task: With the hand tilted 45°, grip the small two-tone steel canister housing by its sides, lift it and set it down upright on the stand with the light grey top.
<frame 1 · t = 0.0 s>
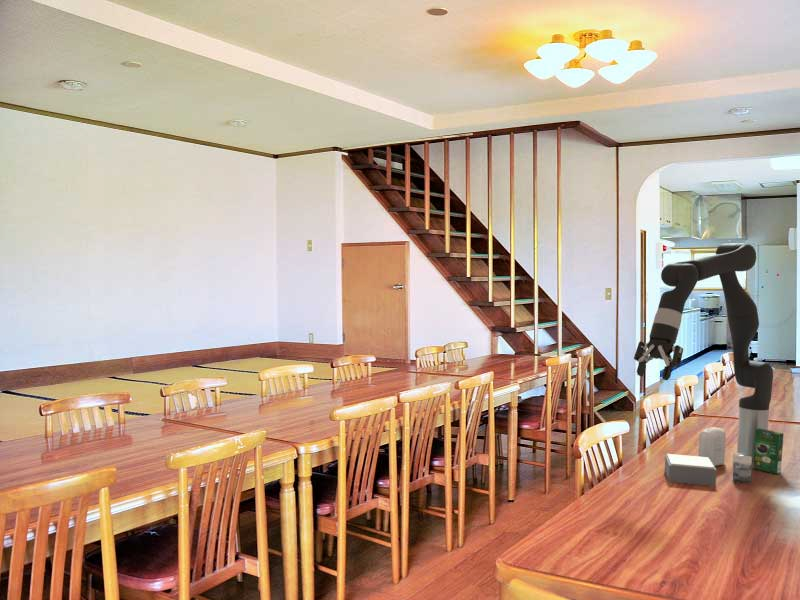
hand: (652, 377, 207), 31 cm above the table, tool tilted 20°, fingers open, 8 cm apart
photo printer: (711, 465, 230), on the table
stand: (689, 478, 214), on the table
coffee box: (767, 471, 224), on the table
housing: (741, 481, 212), on the table
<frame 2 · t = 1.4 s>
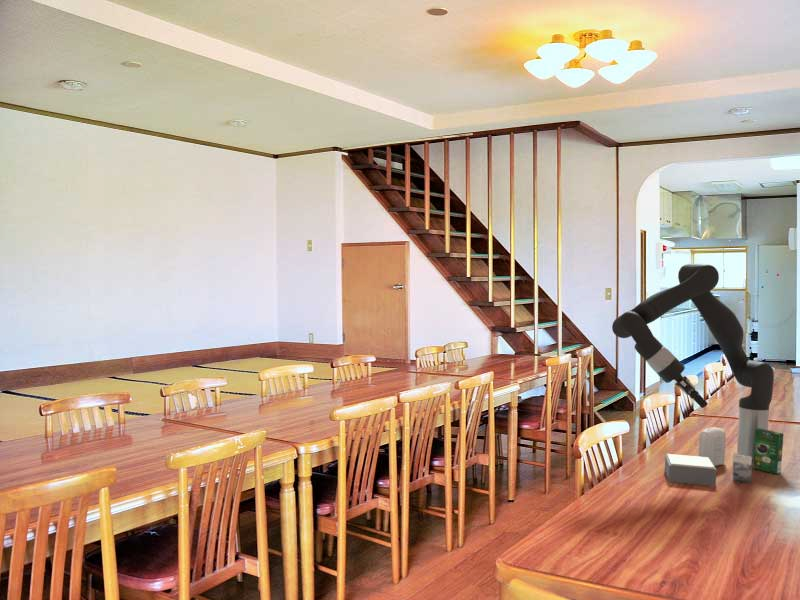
hand: (703, 403, 214), 23 cm above the table, tool tilted 45°, fingers open, 8 cm apart
nothing on the table moved.
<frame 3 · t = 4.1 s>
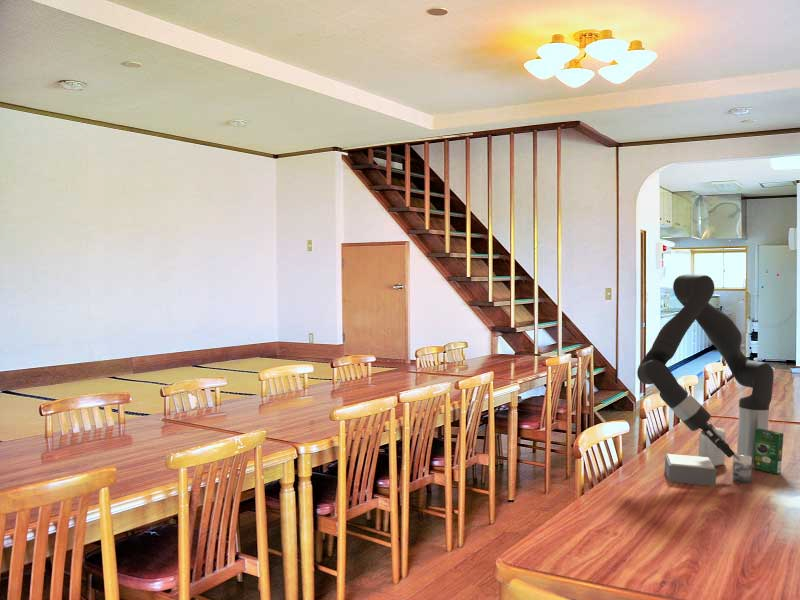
hand: (729, 452, 213), 9 cm above the table, tool tilted 45°, fingers open, 8 cm apart
nothing on the table moved.
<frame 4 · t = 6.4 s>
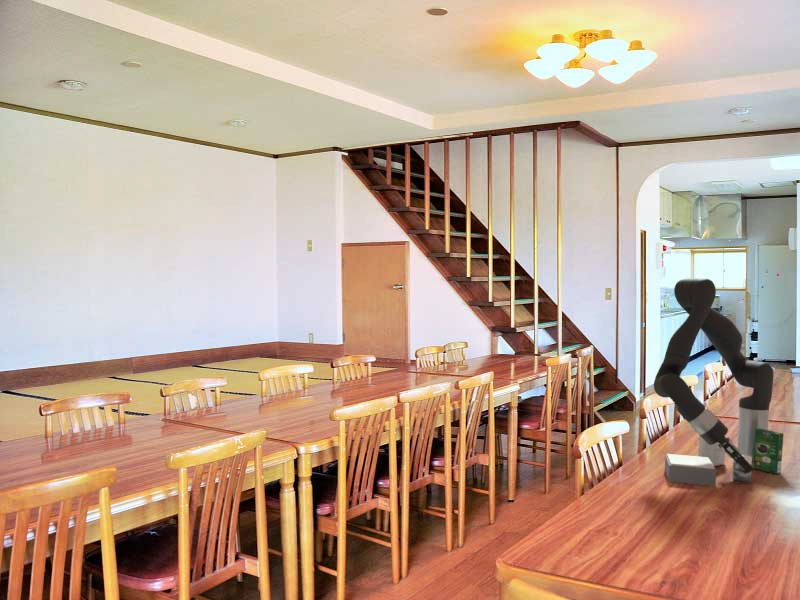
hand: (748, 468, 211), 4 cm above the table, tool tilted 45°, fingers closed on housing, 5 cm apart
housing: (741, 481, 212), on the table, touching gripper
everything else where it was.
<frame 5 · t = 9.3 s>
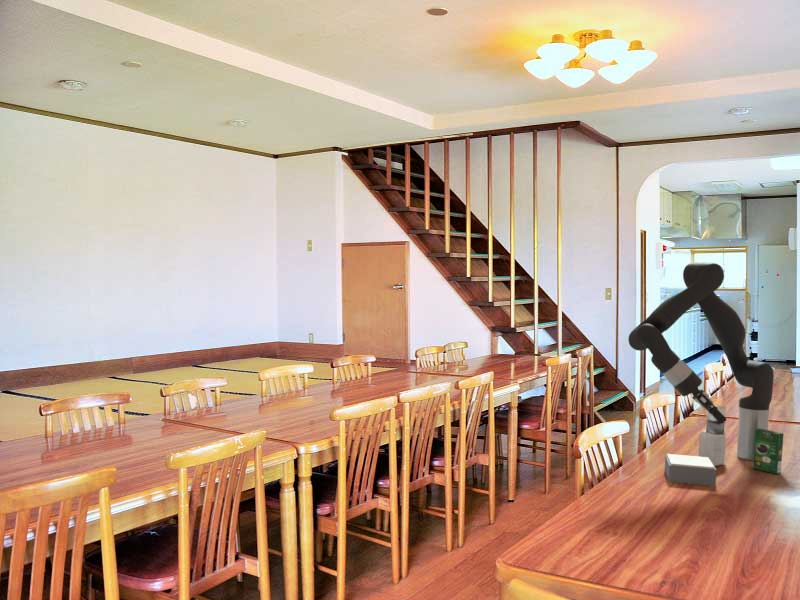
hand: (722, 419, 212), 19 cm above the table, tool tilted 45°, fingers closed on housing, 5 cm apart
housing: (714, 432, 212), point 14 cm above the table, touching gripper
everything else where it was.
when the fingers open (11 cm above the table, at t = 12.0 s): housing drops 1 cm, resting on stand.
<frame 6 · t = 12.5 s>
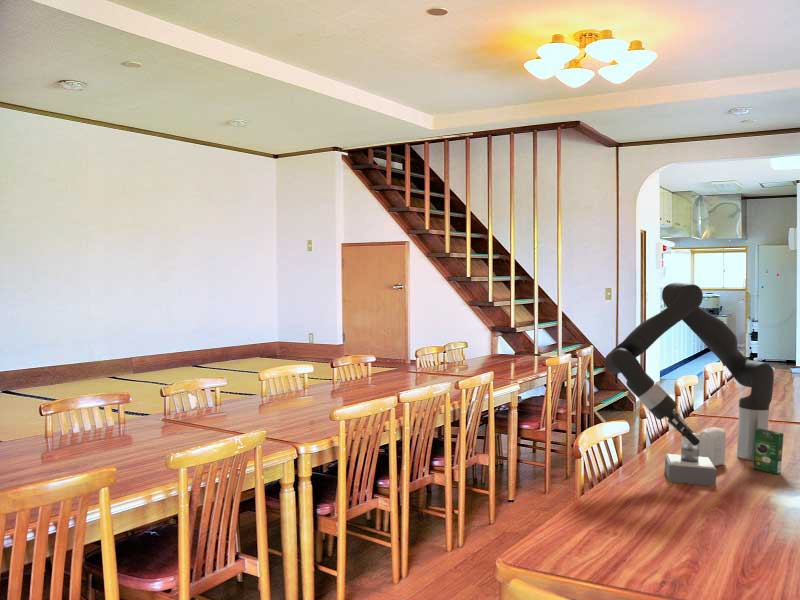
hand: (695, 440, 213), 12 cm above the table, tool tilted 45°, fingers open, 8 cm apart
housing: (689, 460, 214), point 6 cm above the table, touching stand
everything else where it was.
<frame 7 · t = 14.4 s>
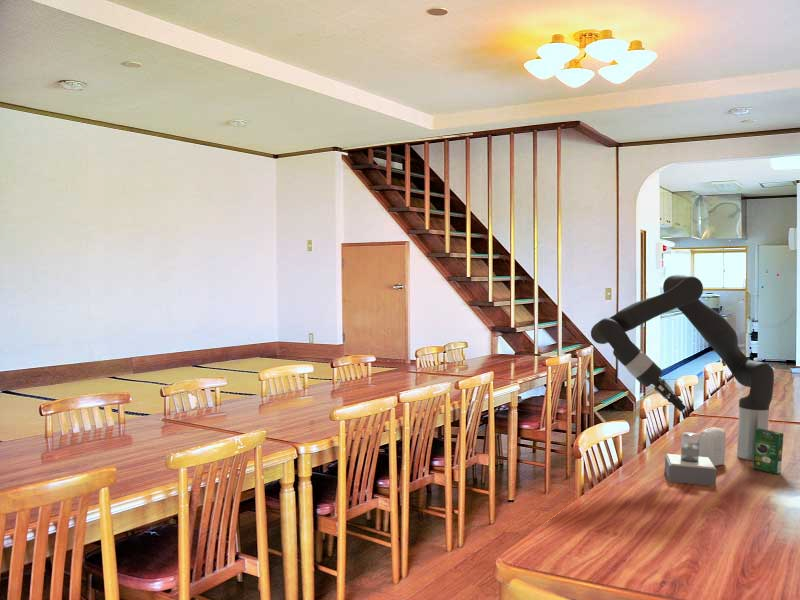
hand: (681, 406, 217), 21 cm above the table, tool tilted 45°, fingers open, 8 cm apart
nothing on the table moved.
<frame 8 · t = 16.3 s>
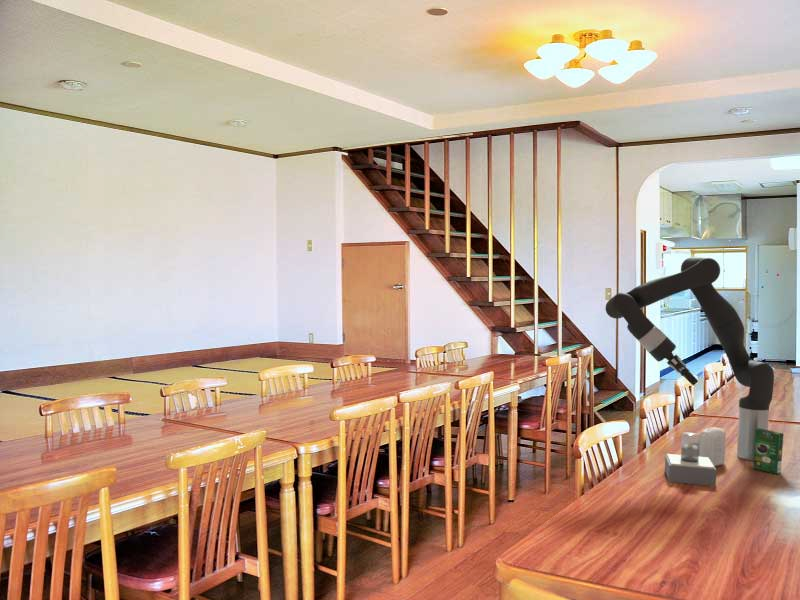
hand: (694, 381, 220), 29 cm above the table, tool tilted 45°, fingers open, 8 cm apart
nothing on the table moved.
at the end: housing inside the target area on the stand (0.1 cm from its centre), point 5.5 cm above the stand's base; housing tilted 0°; the gripper is holding nothing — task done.
